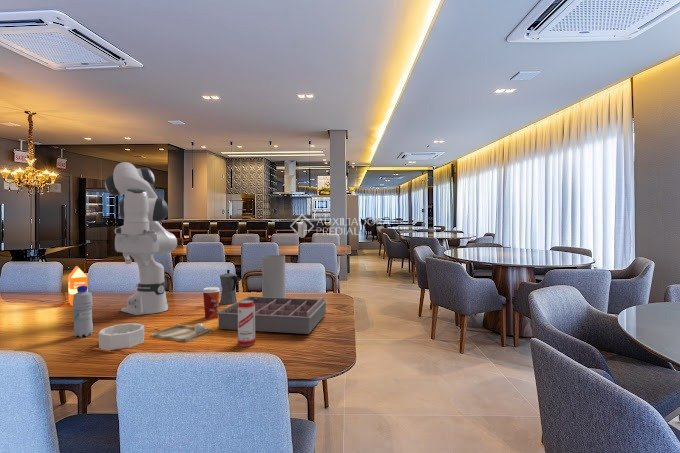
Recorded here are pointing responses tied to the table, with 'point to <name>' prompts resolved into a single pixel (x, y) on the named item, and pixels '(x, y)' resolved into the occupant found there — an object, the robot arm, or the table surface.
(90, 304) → the bottle
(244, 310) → the beer can
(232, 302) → the coffeepot
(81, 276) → the orange juice
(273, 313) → the organizer tray
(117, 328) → the ceramic bowl
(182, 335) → the oak tray
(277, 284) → the cylinder vase
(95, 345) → the table surface
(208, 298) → the paper cup
